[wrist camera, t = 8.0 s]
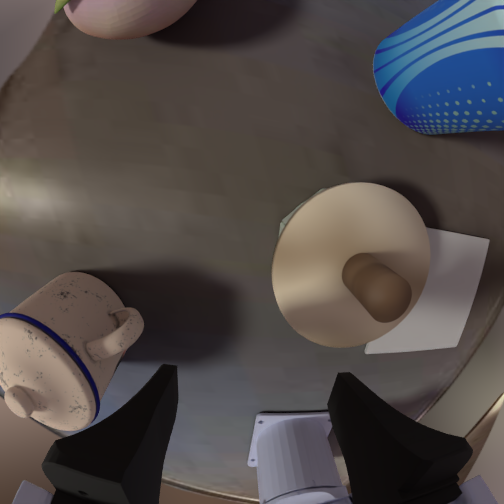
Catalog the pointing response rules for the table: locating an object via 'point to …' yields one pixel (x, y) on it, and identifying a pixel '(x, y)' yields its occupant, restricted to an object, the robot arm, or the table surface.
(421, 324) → the mat
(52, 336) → the teacup with lid
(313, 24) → the table surface
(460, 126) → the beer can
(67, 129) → the table surface
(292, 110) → the table surface
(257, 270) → the table surface
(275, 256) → the lid
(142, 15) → the decorative fruit
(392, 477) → the robot arm
